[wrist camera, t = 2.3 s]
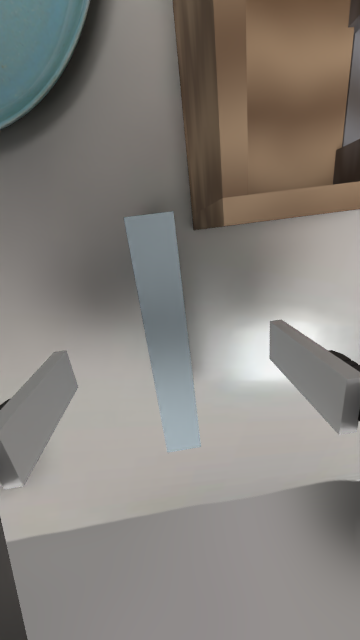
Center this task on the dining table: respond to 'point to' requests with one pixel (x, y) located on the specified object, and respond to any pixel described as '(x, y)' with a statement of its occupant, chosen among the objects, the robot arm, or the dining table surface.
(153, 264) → the door
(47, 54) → the saucer
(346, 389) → the robot arm
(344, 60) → the cabinet
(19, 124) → the dining table surface
